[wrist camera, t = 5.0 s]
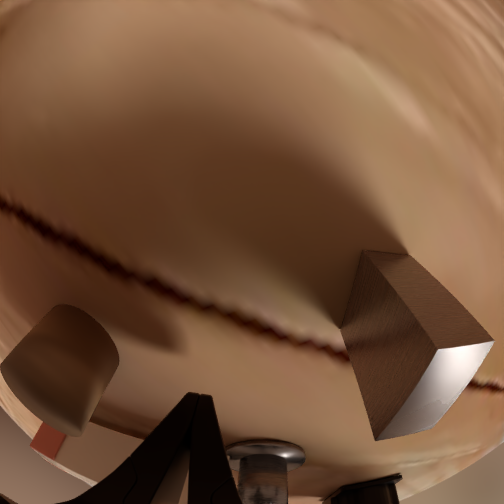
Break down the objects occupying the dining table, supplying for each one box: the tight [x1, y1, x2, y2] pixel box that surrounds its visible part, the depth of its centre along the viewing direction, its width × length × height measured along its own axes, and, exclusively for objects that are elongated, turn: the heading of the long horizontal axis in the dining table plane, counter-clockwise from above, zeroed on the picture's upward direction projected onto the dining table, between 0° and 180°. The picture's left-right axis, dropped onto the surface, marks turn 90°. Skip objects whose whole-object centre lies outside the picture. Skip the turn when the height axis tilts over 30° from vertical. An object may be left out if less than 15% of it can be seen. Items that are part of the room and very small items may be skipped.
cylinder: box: [0, 304, 119, 437], centre depth 8 cm, size 4×4×4 cm
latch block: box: [340, 250, 494, 441], centre depth 6 cm, size 2×3×4 cm, turn 175°
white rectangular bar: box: [30, 422, 230, 504], centre depth 11 cm, size 12×2×4 cm, turn 85°
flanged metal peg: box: [225, 440, 306, 504], centre depth 11 cm, size 5×5×4 cm
